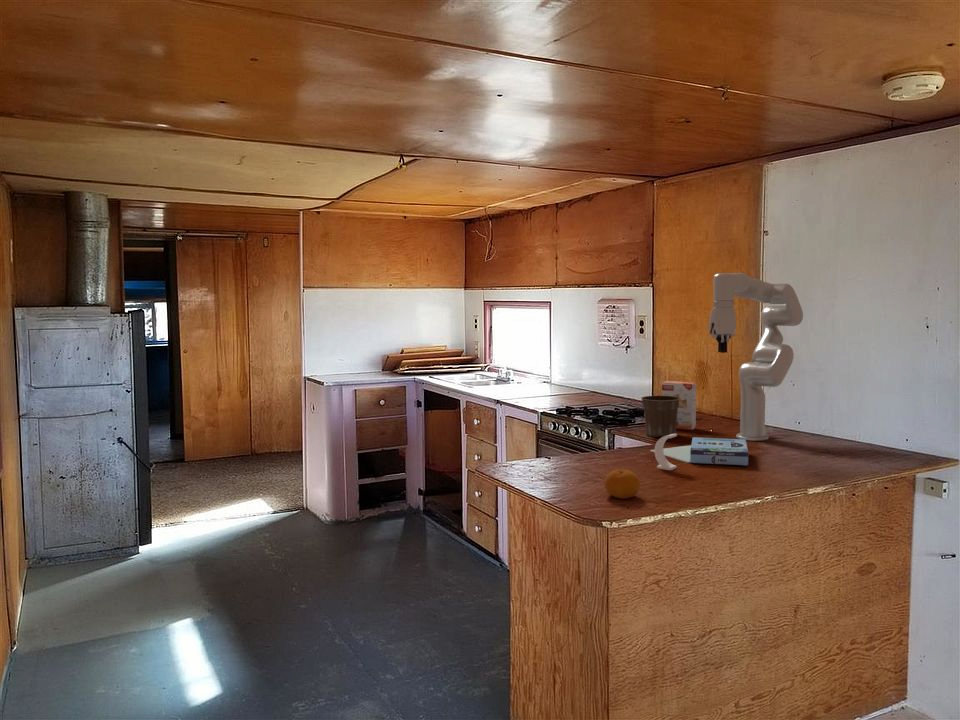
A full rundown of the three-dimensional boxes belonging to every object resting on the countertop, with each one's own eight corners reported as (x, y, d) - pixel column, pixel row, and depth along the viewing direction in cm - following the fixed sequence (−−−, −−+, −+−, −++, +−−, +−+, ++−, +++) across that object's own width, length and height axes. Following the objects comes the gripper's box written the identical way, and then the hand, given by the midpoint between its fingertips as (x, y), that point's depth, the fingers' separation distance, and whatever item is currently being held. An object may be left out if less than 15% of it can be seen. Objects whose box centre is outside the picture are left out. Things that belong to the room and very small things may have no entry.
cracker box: (661, 427, 323) (661, 381, 321) (665, 425, 328) (666, 380, 326) (691, 430, 315) (692, 383, 313) (696, 428, 320) (696, 382, 318)
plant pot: (633, 435, 307) (633, 397, 306) (655, 430, 318) (656, 394, 316) (665, 440, 295) (665, 401, 293) (687, 435, 305) (688, 397, 304)
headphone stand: (670, 470, 245) (670, 435, 244) (654, 467, 249) (654, 433, 248) (676, 467, 248) (676, 433, 247) (661, 465, 252) (661, 431, 251)
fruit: (601, 500, 211) (601, 473, 210) (608, 490, 221) (608, 465, 220) (637, 503, 207) (637, 476, 206) (642, 493, 217) (642, 467, 216)
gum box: (745, 439, 269) (749, 451, 247) (745, 452, 269) (748, 466, 247) (691, 436, 274) (690, 448, 253) (691, 449, 275) (690, 463, 253)
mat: (691, 446, 283) (691, 445, 283) (731, 457, 263) (731, 456, 263) (649, 451, 275) (649, 450, 275) (688, 463, 255) (688, 461, 255)
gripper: (731, 304, 284) (730, 351, 286) (701, 305, 278) (700, 352, 280) (745, 305, 277) (744, 352, 279) (714, 305, 271) (714, 354, 273)
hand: (722, 352), depth 279 cm, fingers closed
